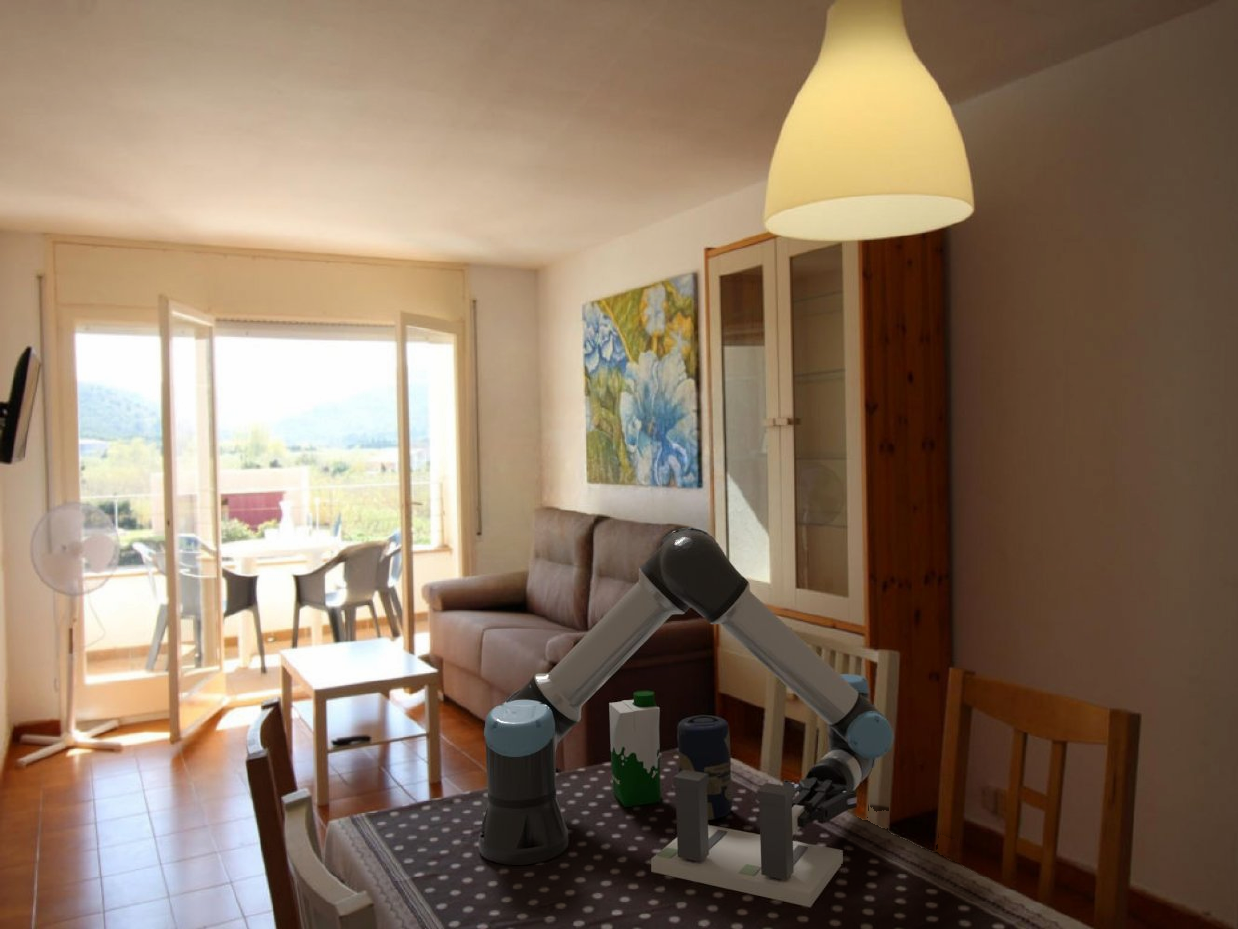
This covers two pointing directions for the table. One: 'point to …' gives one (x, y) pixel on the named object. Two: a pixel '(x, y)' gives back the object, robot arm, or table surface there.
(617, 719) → the milk carton
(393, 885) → the table surface
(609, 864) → the table surface
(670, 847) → the switch board
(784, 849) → the switch
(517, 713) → the robot arm
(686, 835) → the switch
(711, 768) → the canister
